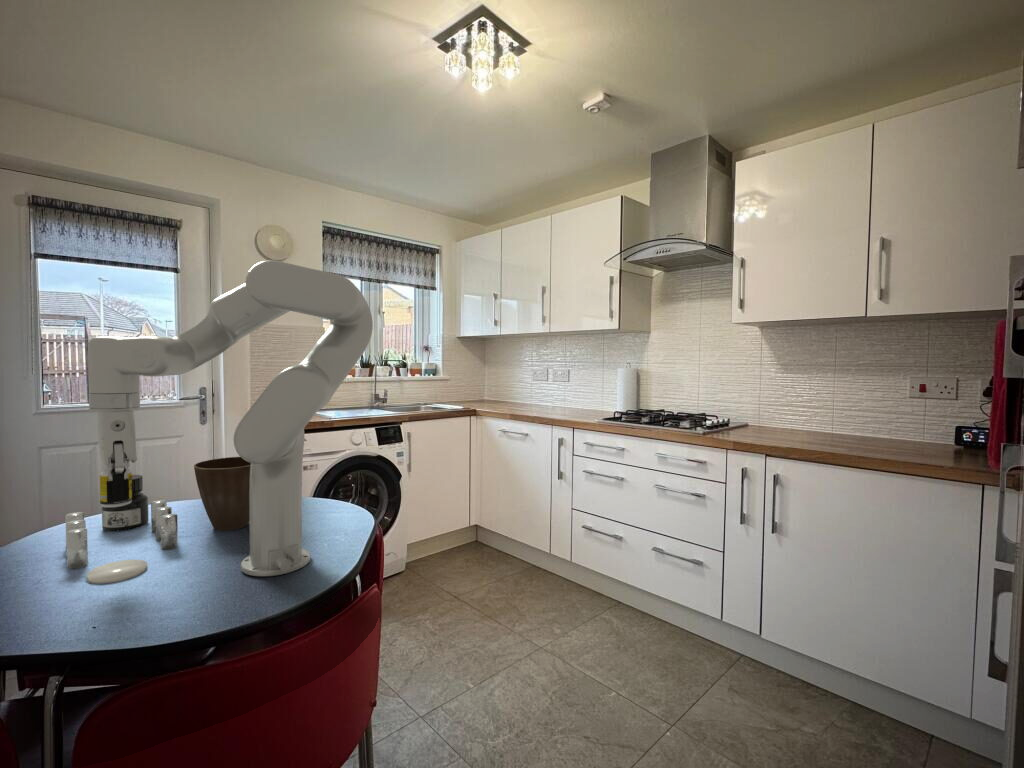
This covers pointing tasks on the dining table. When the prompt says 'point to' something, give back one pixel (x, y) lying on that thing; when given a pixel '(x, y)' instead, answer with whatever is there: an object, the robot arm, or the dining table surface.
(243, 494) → the plant pot
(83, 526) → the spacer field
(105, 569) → the coaster
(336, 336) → the robot arm
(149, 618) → the dining table surface
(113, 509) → the ink bottle
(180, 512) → the dining table surface
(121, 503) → the supplement bottle
